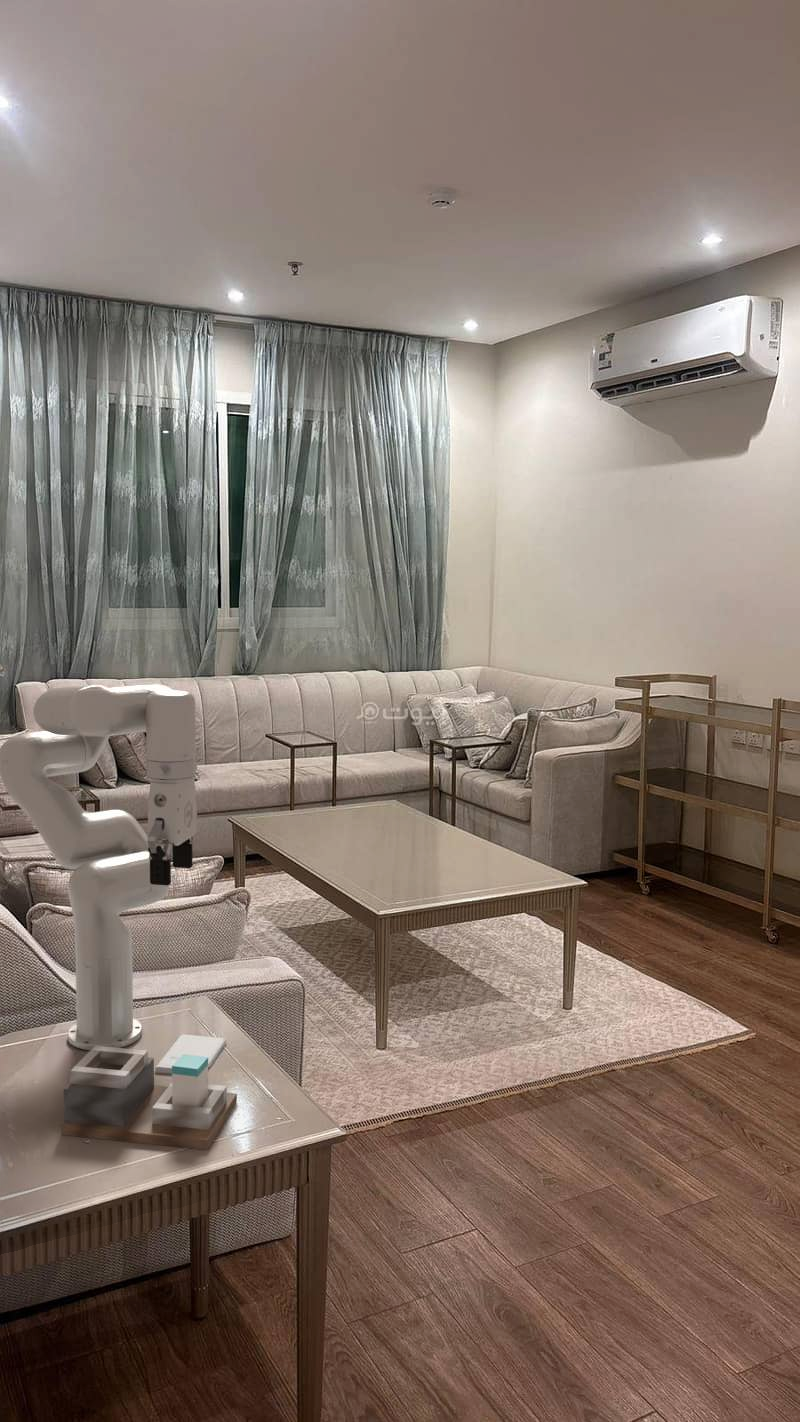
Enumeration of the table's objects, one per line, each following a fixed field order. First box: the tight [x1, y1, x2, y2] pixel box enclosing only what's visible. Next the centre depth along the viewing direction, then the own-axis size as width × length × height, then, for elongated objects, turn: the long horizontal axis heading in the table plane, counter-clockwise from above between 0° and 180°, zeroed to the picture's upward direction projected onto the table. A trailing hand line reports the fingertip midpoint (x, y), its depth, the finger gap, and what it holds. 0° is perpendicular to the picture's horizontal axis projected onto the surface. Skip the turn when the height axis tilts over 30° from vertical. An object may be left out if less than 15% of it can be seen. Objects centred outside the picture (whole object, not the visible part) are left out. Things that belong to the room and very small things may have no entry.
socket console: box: [60, 1046, 238, 1151], centre depth 162 cm, size 22×14×8 cm, turn 81°
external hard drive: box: [154, 1034, 227, 1075], centre depth 182 cm, size 2×8×12 cm
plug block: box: [171, 1054, 209, 1107], centre depth 161 cm, size 4×4×8 cm
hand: (171, 875), depth 172 cm, fingers open, 9 cm apart
